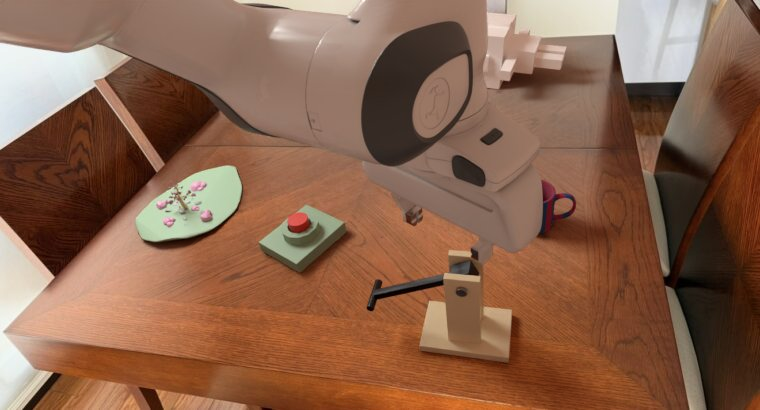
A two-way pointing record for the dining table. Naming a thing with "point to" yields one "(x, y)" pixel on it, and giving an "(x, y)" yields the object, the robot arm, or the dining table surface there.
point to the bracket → (466, 318)
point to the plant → (191, 206)
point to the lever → (417, 284)
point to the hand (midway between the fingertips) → (445, 238)
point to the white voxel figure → (515, 51)
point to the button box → (303, 239)
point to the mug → (549, 203)
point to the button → (298, 222)
